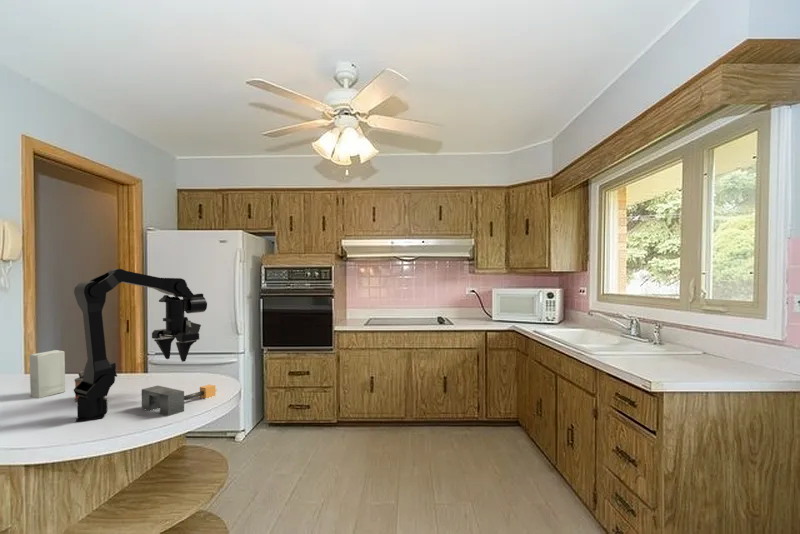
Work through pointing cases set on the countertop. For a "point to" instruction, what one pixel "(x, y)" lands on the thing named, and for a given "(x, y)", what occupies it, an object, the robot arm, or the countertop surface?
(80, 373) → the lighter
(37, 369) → the skincare box
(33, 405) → the countertop surface
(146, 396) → the gray bridge-shaped block
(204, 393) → the plug
